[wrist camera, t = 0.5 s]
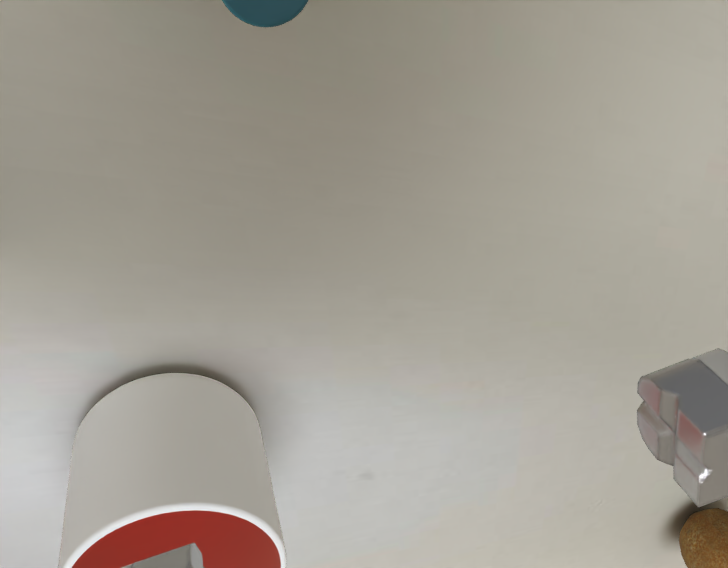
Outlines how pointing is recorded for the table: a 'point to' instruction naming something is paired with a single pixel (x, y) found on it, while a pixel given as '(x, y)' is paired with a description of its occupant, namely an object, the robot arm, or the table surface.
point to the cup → (170, 478)
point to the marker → (265, 11)
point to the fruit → (705, 539)
